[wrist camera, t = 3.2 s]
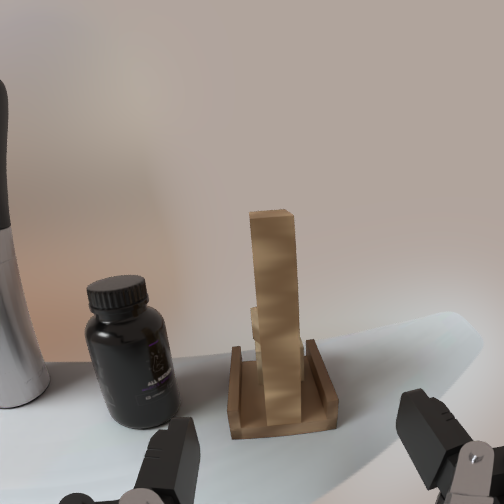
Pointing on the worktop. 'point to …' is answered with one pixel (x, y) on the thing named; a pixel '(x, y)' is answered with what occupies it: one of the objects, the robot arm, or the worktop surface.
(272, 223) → the oak board
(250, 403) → the walnut rack
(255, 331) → the small pine offcut
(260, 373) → the pine offcut
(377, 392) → the worktop surface
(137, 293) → the supplement bottle
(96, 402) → the worktop surface
